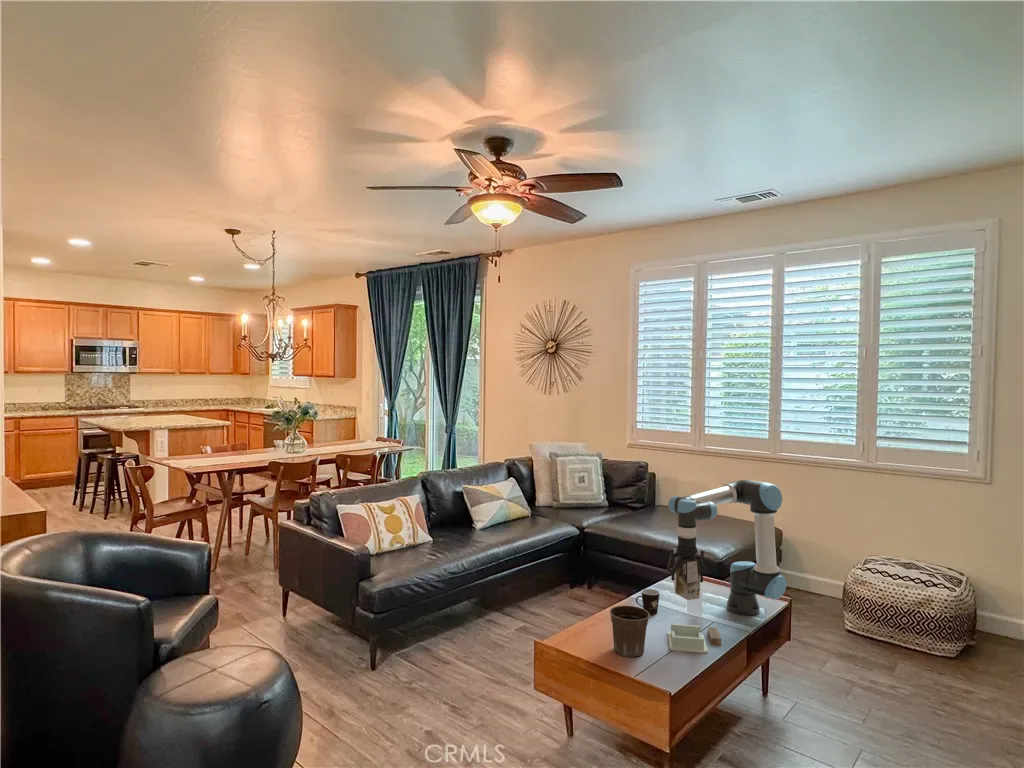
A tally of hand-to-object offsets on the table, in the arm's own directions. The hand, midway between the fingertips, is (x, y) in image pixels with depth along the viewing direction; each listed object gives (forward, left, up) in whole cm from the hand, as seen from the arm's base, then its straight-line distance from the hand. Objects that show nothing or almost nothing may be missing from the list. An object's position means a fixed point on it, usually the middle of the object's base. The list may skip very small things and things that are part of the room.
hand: (687, 588), depth 259 cm
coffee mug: (+16, -32, -23) cm, 43 cm away
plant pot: (+24, +13, -23) cm, 36 cm away
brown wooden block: (-12, -7, -23) cm, 27 cm away
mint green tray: (0, 0, -23) cm, 23 cm away
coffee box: (0, 0, -3) cm, 3 cm away
